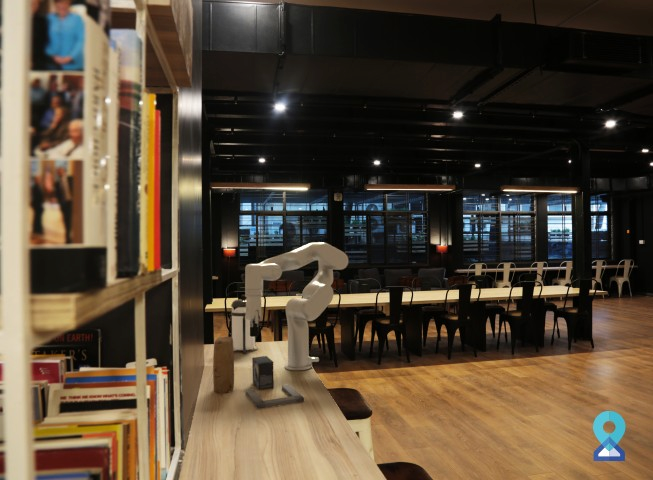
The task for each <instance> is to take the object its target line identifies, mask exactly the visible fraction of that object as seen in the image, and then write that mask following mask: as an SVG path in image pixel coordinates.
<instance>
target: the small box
mask: <svg viewBox="0 0 653 480" xmlns="http://www.w3.org/2000/svg"><path fill="white" fill-rule="evenodd" d="M251 362H252V366H251V367H252V383H253V385H254V386H255V387H256V388H257V389H258V391H262V390H269V389H274V388H275V384H274V381H275V380H274V379H275V378H274V361H273V360H272V359H271V358H270V357H268V356H267V355H262V356H256V357H252V359H251Z"/></svg>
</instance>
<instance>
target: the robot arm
mask: <svg viewBox="0 0 653 480" xmlns="http://www.w3.org/2000/svg"><path fill="white" fill-rule="evenodd" d="M314 261H315V262H316V261H318V263H317V264H318V272H317V274H316V275H315V277H314V278H312V280H311V281H310V282H309V283H308V284H307V285H306V286H305V287H304V289H303V290H302V293H301V294H302V297H292V298H291V299H289V300H288V301H287V302H286V304H285V305H286V306H285V316H286V322H287V362H286V363H285V364H284V369H286V370H289V371H306V370H310V369H312V367H313V363H317V362H318V363H319V361H320V358H319V357H318V356H317V357H316V356H309V354H310V350H309V349H310V348H309V346H310V345H309V343H310V341H309V339H310V337H309V336H310V335H309V333H310V332H309V331H310V330H309V324H308V323H309V322H312V321H314V320H317V318H318V317H320V316H321V314H322V313H323V312H324V311H325V310H326V308H328V307H329V305H330V304H331V303H332V300H333V298H334V289H333V287H332V284H333V282H334V271H335V270H337V271H338V270H339V271H340V270H341V271H342V270H344V269H346V268H347V266H348V265H349V257H348V255H347V254H346V253H345V252H344V251H342V250H340V248H339V249H338V248H337V247H335V246H332V245H331V244H329V243H327V242H322V241H321V242H320V241H318V242H314V241H313V242H309V243H307V244H304V245H302V246H300V247H298V248H295V249H293V250H291V251H289V252H285V253H281V254H279V255H276V256H273V257H270V258H267V259H265V260H263V261H261V262H259V263H249V264H246V266H245V267H244V269H245V270H244V271H245V272H244V273H245V275H244V276H245V279H244V281H245V284H244V285H245V287H244V292H245V294H244V295H245V299H246V315H245V317H246V318H247V319H248V320H250V336H251V337H255V336H257V337H259V334H258V320H259V321H260V320H262V315H263V314H262V311H263V310H262V297H264V281H271V282H272V281H277V280H279V279H280V278H281V276H282V274H283V272H285V271H294V270H298V269H300V268H302V267H304V266H306V265H308V264H311V263H312V262H314ZM333 270H334V271H333Z"/></svg>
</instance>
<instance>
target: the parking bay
mask: <svg viewBox="0 0 653 480" xmlns="http://www.w3.org/2000/svg"><path fill="white" fill-rule="evenodd" d="M281 390H282V391H283V392H284V393H285V394H286V395H287V397H279V398H273V399H272V398H271V399H266V400H264V399H263V398H262V397H261V396H260V395H259V394H258V392H257V391H256V390H255V389H254V388H253V389H246V390H245V395H246V396H247V398H249V400H250V402H251V403H252V405H254V407H255V408H256V410H259V409H266V407H267V408H272V406H274V407H279V405H281V406H286V405H293V404H300V403H304V402H305V397H304V396H303V395H302V394H301V393H299V391H297V390H296V389H295V388H294V387H293V386H291V385H290V384H283V385H281Z"/></svg>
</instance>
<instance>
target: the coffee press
mask: <svg viewBox="0 0 653 480" xmlns="http://www.w3.org/2000/svg"><path fill="white" fill-rule="evenodd" d="M246 299H247V298H246V297H245V294H242V295H241V296H240V298H239V299H235V300H233V301H232V303H231V305H230V308H231V315H230V316H231V322H230V323H231V337H232V338H233V349H234V350H236V351H242V354H243V355H244V354H246V353H247V351H248V350H252V349H253V350H255V351H258V349H259V348H258V347H257V345H256V339H257V338H258V336H255V337H251V336H250V320H248V319H247V318H246V317H245V315H246ZM258 335H260V320H258ZM255 346H256V349H255Z"/></svg>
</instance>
